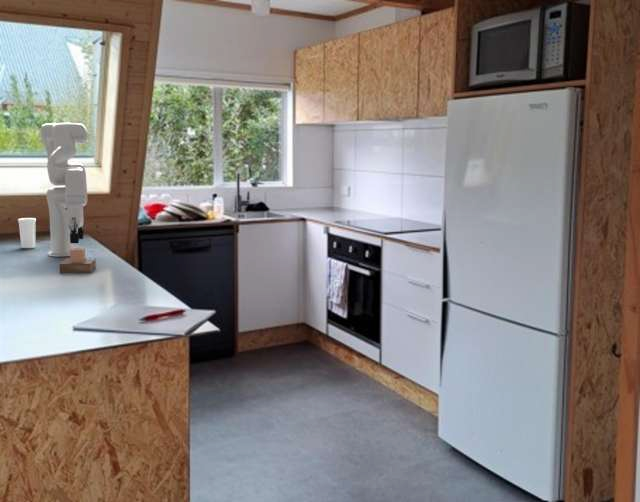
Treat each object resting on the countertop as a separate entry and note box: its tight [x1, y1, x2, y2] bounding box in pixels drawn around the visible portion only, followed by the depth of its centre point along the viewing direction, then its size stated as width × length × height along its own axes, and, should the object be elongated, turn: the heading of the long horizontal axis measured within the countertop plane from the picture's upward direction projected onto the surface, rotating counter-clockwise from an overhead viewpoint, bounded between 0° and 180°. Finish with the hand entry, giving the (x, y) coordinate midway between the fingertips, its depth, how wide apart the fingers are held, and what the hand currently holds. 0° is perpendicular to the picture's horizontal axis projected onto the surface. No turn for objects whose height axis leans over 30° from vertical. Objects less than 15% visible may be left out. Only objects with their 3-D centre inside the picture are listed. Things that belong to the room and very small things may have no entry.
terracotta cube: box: [69, 247, 86, 262], centre depth 272 cm, size 5×5×5 cm
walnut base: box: [58, 257, 97, 274], centre depth 273 cm, size 12×12×4 cm
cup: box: [17, 217, 37, 249], centre depth 322 cm, size 8×8×14 cm
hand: (76, 241), depth 272 cm, fingers open, 9 cm apart
